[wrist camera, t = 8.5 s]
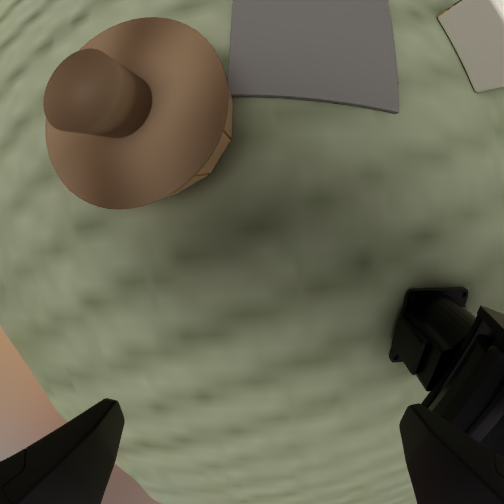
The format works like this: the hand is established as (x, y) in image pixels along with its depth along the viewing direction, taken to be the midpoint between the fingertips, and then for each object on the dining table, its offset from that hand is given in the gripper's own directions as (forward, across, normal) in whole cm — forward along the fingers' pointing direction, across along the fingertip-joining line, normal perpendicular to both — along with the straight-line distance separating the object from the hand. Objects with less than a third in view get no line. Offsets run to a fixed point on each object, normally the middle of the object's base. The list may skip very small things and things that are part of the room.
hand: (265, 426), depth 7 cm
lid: (+8, +7, -10) cm, 15 cm away
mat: (+12, -3, -17) cm, 21 cm away
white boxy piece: (+13, -18, -20) cm, 30 cm away
